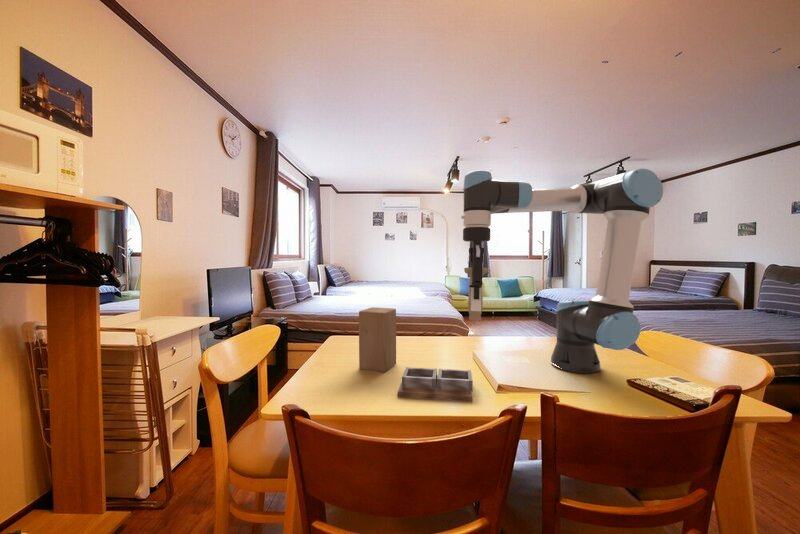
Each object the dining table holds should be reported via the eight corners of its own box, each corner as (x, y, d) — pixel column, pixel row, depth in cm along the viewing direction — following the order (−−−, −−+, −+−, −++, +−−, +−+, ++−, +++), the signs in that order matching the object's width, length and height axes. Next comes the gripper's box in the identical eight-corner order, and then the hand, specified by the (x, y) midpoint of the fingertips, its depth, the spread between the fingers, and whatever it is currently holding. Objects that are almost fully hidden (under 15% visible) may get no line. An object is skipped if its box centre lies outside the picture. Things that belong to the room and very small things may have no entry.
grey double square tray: (470, 381, 100) (470, 367, 100) (473, 401, 86) (473, 384, 86) (405, 378, 103) (404, 364, 103) (397, 396, 90) (397, 380, 90)
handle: (488, 322, 91) (489, 268, 90) (465, 322, 91) (466, 268, 90) (483, 319, 96) (484, 267, 95) (462, 318, 96) (462, 267, 95)
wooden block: (358, 369, 112) (358, 311, 112) (371, 360, 122) (371, 307, 121) (385, 372, 109) (384, 312, 108) (396, 363, 118) (396, 308, 117)
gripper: (462, 230, 101) (460, 305, 102) (464, 224, 85) (463, 314, 85) (486, 229, 100) (485, 306, 101) (494, 224, 84) (492, 315, 84)
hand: (475, 309), depth 93 cm, fingers closed on handle, 4 cm apart
